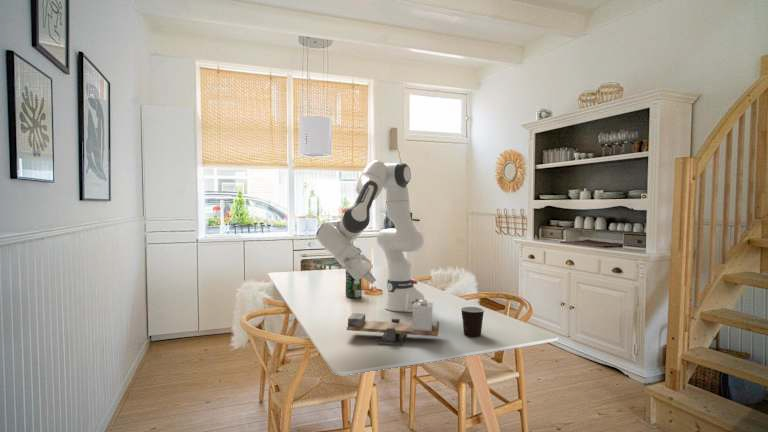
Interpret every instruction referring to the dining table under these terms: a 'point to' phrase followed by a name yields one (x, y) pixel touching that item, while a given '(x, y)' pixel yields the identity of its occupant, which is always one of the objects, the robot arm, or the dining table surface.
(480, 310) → the coffee mug
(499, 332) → the dining table surface
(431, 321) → the block
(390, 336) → the fulcrum
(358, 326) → the beam
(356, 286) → the coffee jar
